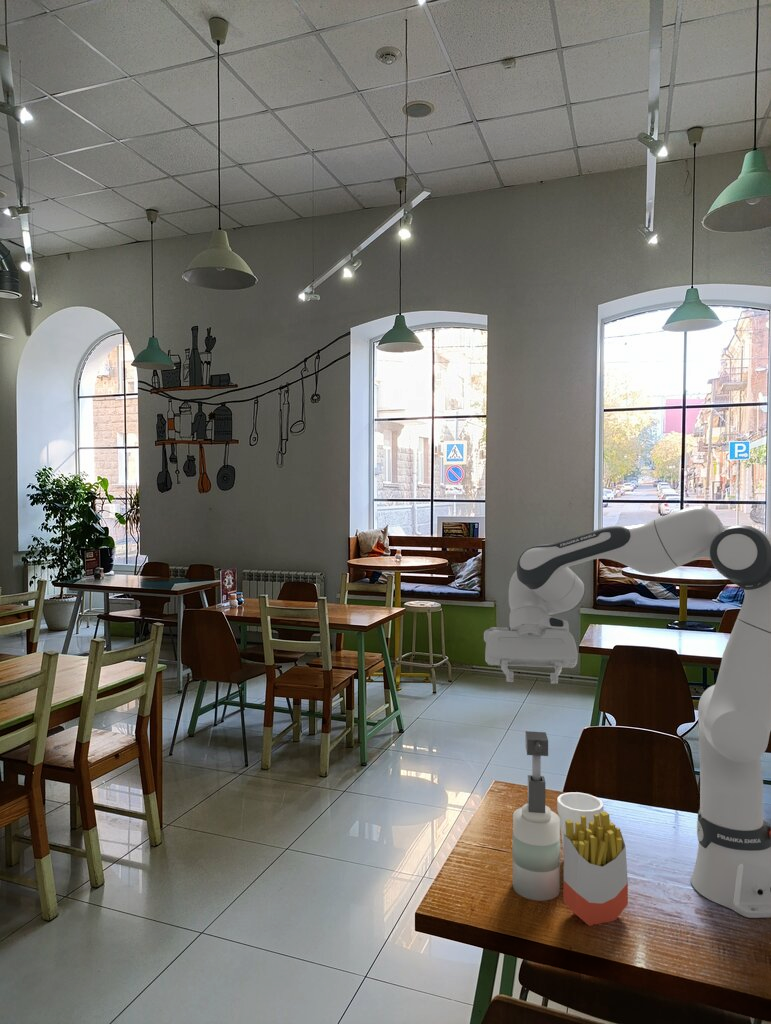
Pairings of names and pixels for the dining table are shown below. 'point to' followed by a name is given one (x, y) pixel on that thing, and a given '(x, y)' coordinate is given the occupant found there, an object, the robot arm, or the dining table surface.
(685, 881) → the dining table surface
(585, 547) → the robot arm
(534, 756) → the pump head
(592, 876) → the french fries container
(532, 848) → the syrup bottle
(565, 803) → the foam cup
